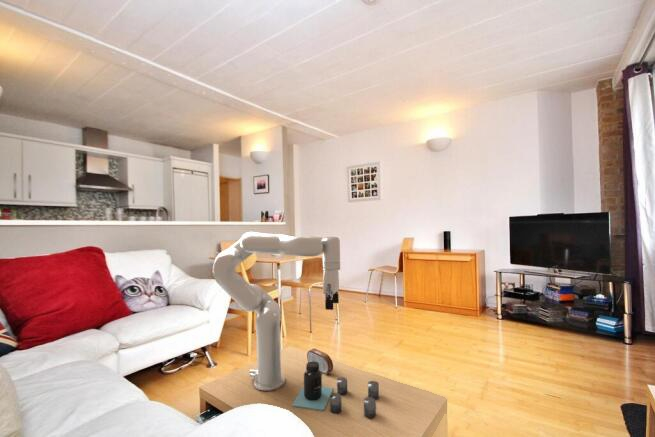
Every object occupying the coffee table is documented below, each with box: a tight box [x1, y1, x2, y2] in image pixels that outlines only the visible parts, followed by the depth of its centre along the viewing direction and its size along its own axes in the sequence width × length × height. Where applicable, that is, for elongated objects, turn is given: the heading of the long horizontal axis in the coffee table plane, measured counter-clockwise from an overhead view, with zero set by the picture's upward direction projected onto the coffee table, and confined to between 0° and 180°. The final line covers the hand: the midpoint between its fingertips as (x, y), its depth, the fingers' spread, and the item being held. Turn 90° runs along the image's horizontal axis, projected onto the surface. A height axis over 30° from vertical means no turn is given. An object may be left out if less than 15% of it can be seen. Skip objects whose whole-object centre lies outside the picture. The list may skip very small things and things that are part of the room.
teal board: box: [291, 385, 334, 412], centre depth 116 cm, size 12×14×1 cm
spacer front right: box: [363, 396, 377, 420], centre depth 105 cm, size 4×4×5 cm
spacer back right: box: [367, 380, 380, 401], centre depth 115 cm, size 4×4×5 cm
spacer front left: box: [329, 392, 343, 415], centre depth 108 cm, size 4×4×5 cm
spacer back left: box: [336, 376, 349, 397], centre depth 119 cm, size 4×4×5 cm
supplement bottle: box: [303, 361, 323, 400], centre depth 116 cm, size 7×7×12 cm
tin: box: [306, 348, 334, 375], centre depth 137 cm, size 15×3×8 cm, turn 43°
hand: (332, 306), depth 130 cm, fingers open, 9 cm apart
